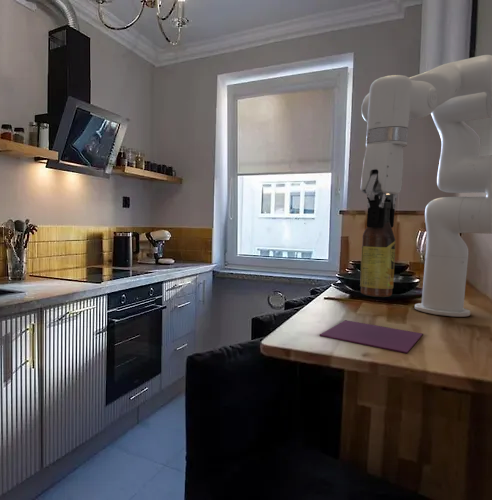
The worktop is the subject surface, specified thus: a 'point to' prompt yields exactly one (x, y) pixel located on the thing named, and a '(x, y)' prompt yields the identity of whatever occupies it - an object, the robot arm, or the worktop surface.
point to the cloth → (374, 336)
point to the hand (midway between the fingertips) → (380, 226)
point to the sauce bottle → (378, 259)
